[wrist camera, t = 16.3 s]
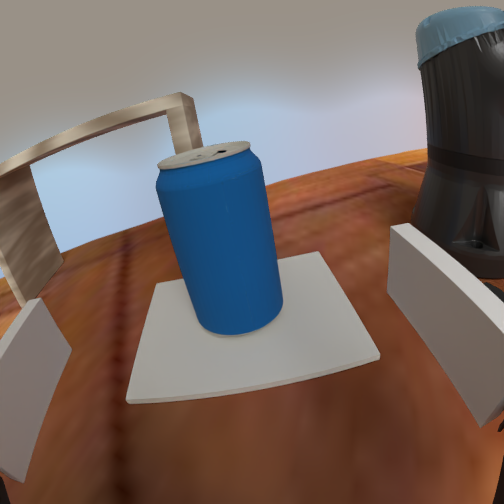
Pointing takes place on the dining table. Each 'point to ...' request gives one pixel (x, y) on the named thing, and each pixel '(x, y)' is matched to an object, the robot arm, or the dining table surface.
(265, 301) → the beverage can
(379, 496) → the dining table surface
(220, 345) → the grey mat
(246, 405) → the dining table surface
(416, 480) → the dining table surface
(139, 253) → the dining table surface
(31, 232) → the rectangular arch
